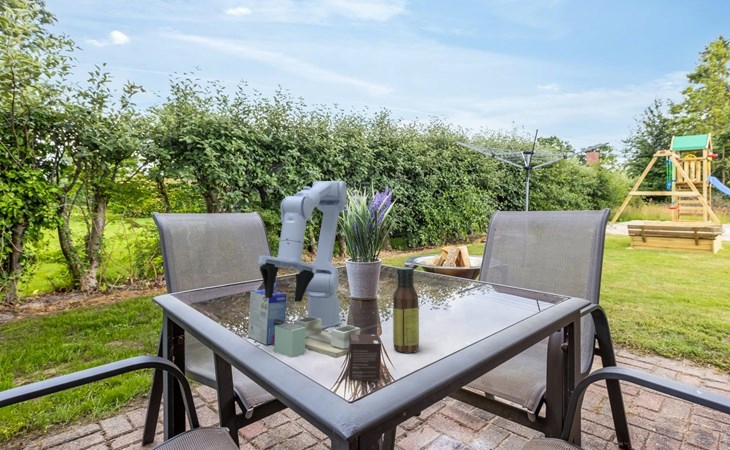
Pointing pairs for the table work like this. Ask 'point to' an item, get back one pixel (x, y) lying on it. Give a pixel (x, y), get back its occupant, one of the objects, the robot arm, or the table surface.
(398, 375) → the table surface
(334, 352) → the board
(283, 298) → the ink cartridge box
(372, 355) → the box
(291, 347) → the block
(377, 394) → the table surface
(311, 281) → the robot arm
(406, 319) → the sauce bottle
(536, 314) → the table surface
